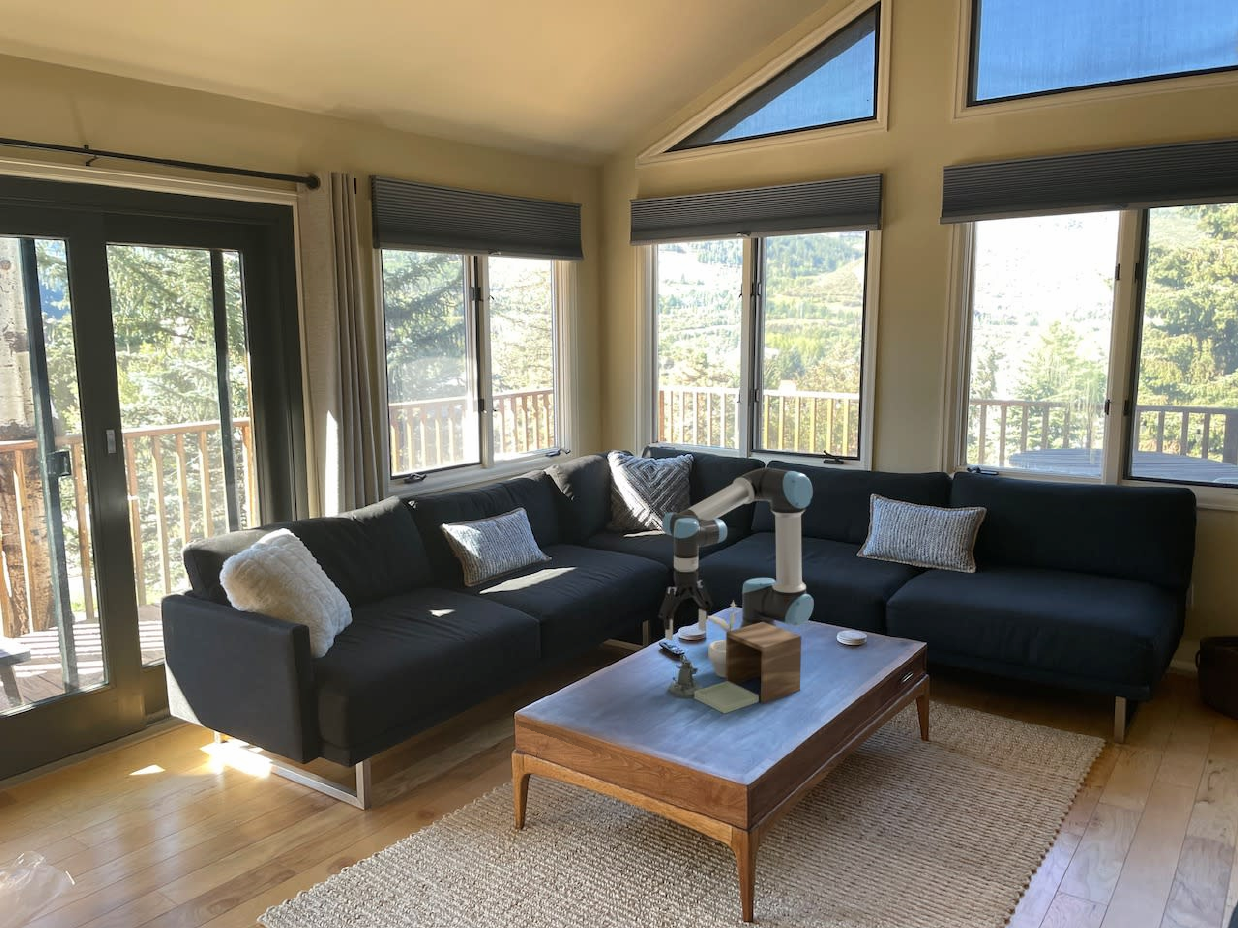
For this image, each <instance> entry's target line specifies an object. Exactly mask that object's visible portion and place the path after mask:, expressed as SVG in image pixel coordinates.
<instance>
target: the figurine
mask: <svg viewBox="0 0 1238 928" xmlns="http://www.w3.org/2000/svg"><path fill="white" fill-rule="evenodd" d="M679 663H680V664H681V665H679V666H678V665H677V664H676V665H675V667H676V668H678V669H679V670H678V674H677V679H676V677H675V676H673V677H672V680H673V681H675V682H673V683H671V684H670V685H669V686H668V692H669V694H670V695H672V696H674V697H677V698H681V699H682V698H683V699H691V698H694V692H695V691H698V690H702V689H703V686H702V685H700V684H699V683H697V682H695V678H694V676H693V675H697V672H698V670H699V669H698V668H697V667H693V666H692V661H691V660H690V659H687V656H686V655H685V654H683V653H682V654H680V655H679Z"/></svg>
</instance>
